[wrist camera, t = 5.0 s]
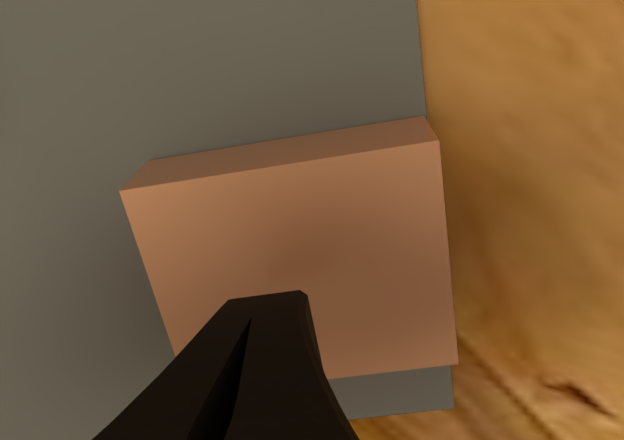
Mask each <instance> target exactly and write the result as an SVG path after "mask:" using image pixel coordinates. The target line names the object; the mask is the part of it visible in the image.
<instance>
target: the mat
mask: <svg viewBox="0 0 624 440" xmlns="http://www.w3.org/2000/svg"><path fill="white" fill-rule="evenodd" d="M418 116H425V118H426V119H427V111H426V100H425V89H424V79H423V68H422V58H421V47H420V37H419V26H418V15H417V5H416V0H0V440H92V439H93V438H94V437H95V436H96V435H97V434H98V433H100V432H101V431H102V430H103V429H104V428H105V427H106V426H107V425H108V424H109V423H111V422H112V421H113V420H114V419H115V418H116V417H117V416H118V415H119V414H120V413H121V412H122V411H123V410H124V409H125V408H126V407H127V406H128V405H129V404H130V403H131V402H132V401H133V400H134V399H135V398H136V397H137V396H138V395H139V394H140V393H141V392H142V391H143V390H144V389H145V388H146V387H147V386H148V385H149V384H150V383H151V382H152V381H153V380H154V379H155V378H156V377H157V376H158V375H159V374H160V373H161V372H162V371H163V370H164V369H165V368H166V367H167V366H168V365H169V364H170V363H171V362H172V360H173V359H174V358H175V354H174V351H173V348H172V345H171V342H170V339H169V336H168V334H167V331H166V328H165V325H164V322H163V319H162V316H161V313H160V310H159V307H158V304H157V301H156V298H155V295H154V292H153V289H152V287H151V284H150V281H149V278H148V275H147V272H146V269H145V266H144V263H143V260H142V257H141V254H140V251H139V248H138V245H137V242H136V240H135V237H134V234H133V231H132V228H131V225H130V222H129V219H128V216H127V213H126V210H125V207H124V204H123V201H122V198H121V196H120V193H119V190H120V189H121V188H122V187H123V186H124V185H125V184H126V183H127V182H128V181H129V180H130V179H131V178H132V177H133V176H134V175H135V173H136V172H137V171H138V170H139V169H140V168H141V167H142V166H143V165H144V164H145V163H146V162H147V161H149V160H155V159H161V158H167V157H173V156H179V155H185V154H191V153H198V152H204V151H210V150H216V149H222V148H228V147H234V146H240V145H246V144H253V143H259V142H265V141H271V140H277V139H283V138H289V137H295V136H301V135H308V134H314V133H320V132H326V131H332V130H338V129H344V128H350V127H357V126H363V125H369V124H375V123H381V122H387V121H393V120H399V119H405V118H412V117H418ZM327 380H328V382H329V384H330V386H331V388H332V390H333V392H334V394H335V396H336V399H337V401H338V403H339V405H340V406H341V408H342V410H343V412H344V414H345V416H346V418H347V419H348V420H352V419H361V418H370V417H379V416H388V415H397V414H407V413H416V412H425V411H434V410H443V409H452V408H455V407H454V396H453V386H452V375H451V365H446V366H437V367H429V368H420V369H411V370H403V371H394V372H386V373H377V374H369V375H360V376H352V377H343V378H335V379H327Z"/></svg>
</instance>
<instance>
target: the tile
mask: <svg viewBox="0 0 624 440" xmlns="http://www.w3.org/2000/svg"><path fill="white" fill-rule="evenodd" d="M119 193H120V196H121V198H122V201H123V204H124V207H125V210H126V213H127V216H128V219H129V222H130V225H131V228H132V231H133V234H134V237H135V240H136V242H137V245H138V248H139V251H140V254H141V257H142V260H143V263H144V266H145V269H146V272H147V275H148V278H149V281H150V284H151V287H152V289H153V292H154V295H155V298H156V301H157V304H158V307H159V310H160V313H161V316H162V319H163V322H164V325H165V328H166V331H167V334H168V336H169V339H170V342H171V345H172V348H173V351H174V354H175V357H176V356H177V355H178V354H179V353H180V352H181V351H182V350H183V349H184V347H185V346H186V345H187V344H188V343H189V342H190V341H191V340H192V339H193V338H194V336H195V335H196V334H197V333H198V332H199V331H200V330H201V329H202V328H203V326H204V325H205V324H206V323H207V322H208V321H209V320H210V319H211V317H212V316H213V315H214V314H215V313H216V312H217V311H218V310H219V309H220V308H221V307H222V306H223V305H224V304H225V303H226V302H227V301H228V300H229V299H235V298H243V297H250V296H258V295H265V294H272V293H280V292H287V291H295V290H301V291H302V292H304V293H305V294H307V295H308V299H309V304H310V309H311V314H312V318H313V323H314V328H315V333H316V337H317V342H318V347H319V351H320V356H321V361H322V366H323V370H324V373H325V375H326V378H327V379H335V378H343V377H352V376H360V375H369V374H377V373H386V372H394V371H403V370H411V369H420V368H429V367H437V366H446V365H454V364H459V362H458V350H457V339H456V327H455V316H454V304H453V293H452V281H451V270H450V258H449V247H448V235H447V224H446V212H445V201H444V189H443V178H442V166H441V155H440V143H439V139H438V137H437V136H436V134H435V132H434V131H433V129H432V127H431V126H430V124H429V122H428V121H427V119H426V118H425V116H418V117H412V118H405V119H399V120H393V121H387V122H381V123H375V124H369V125H363V126H357V127H350V128H344V129H338V130H332V131H326V132H320V133H314V134H308V135H301V136H295V137H289V138H283V139H277V140H271V141H265V142H259V143H253V144H246V145H240V146H234V147H228V148H222V149H216V150H210V151H204V152H198V153H191V154H185V155H179V156H173V157H167V158H161V159H155V160H149V161H147V162H146V163H145V164H144V165H143V166H142V167H141V168H140V169H139V170H138V171H137V172H136V173H135V175H134V176H133V177H132V178H131V179H130V180H129V181H128V182H127V183H126V184H125V185H124V186H123V187H122V188H121V189H120V190H119Z"/></svg>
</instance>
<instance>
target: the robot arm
mask: <svg viewBox="0 0 624 440" xmlns="http://www.w3.org/2000/svg"><path fill="white" fill-rule="evenodd" d="M92 440H359V438H358V437H357V435H356V433H355V432H354V430H353V428H352V427H351V425H350V423H349V421H348V419H347V418H346V416H345V414H344V412H343V410H342V408H341V406H340V405H339V403H338V401H337V399H336V396H335V394H334V392H333V390H332V388H331V386H330V384H329V382H328V380H327V378H326V375H325V373H324V370H323V366H322V361H321V356H320V351H319V347H318V342H317V337H316V333H315V328H314V323H313V318H312V314H311V309H310V304H309V299H308V295H307V294H305V293H304V292H302V291H301V290H295V291H287V292H280V293H272V294H265V295H258V296H250V297H243V298H235V299H229V300H228V301H227V302H226V303H225V304H224V305H223V306H222V307H221V308H220V309H219V310H218V311H217V312H216V313H215V314H214V315H213V316H212V317H211V319H210V320H209V321H208V322H207V323H206V324H205V325H204V326H203V328H202V329H201V330H200V331H199V332H198V333H197V334H196V335H195V336H194V338H193V339H192V340H191V341H190V342H189V343H188V344H187V345H186V346H185V347H184V349H183V350H182V351H181V352H180V353H179V354H178V355H177V356H176V357H175V358H174V359H173V360H172V362H171V363H170V364H169V365H168V366H167V367H166V368H165V369H164V370H163V371H162V372H161V373H160V374H159V375H158V376H157V377H156V378H155V379H154V380H153V381H152V382H151V383H150V384H149V385H148V386H147V387H146V388H145V389H144V390H143V391H142V392H141V393H140V394H139V395H138V396H137V397H136V398H135V399H134V400H133V401H132V402H131V403H130V404H129V405H128V406H127V407H126V408H125V409H124V410H123V411H122V412H121V413H120V414H119V415H118V416H117V417H116V418H115V419H114V420H113V421H112V422H111V423H109V424H108V425H107V426H106V427H105V428H104V429H103V430H102V431H101V432H100V433H98V434H97V435H96V436H95V437H94V438H93V439H92Z"/></svg>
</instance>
